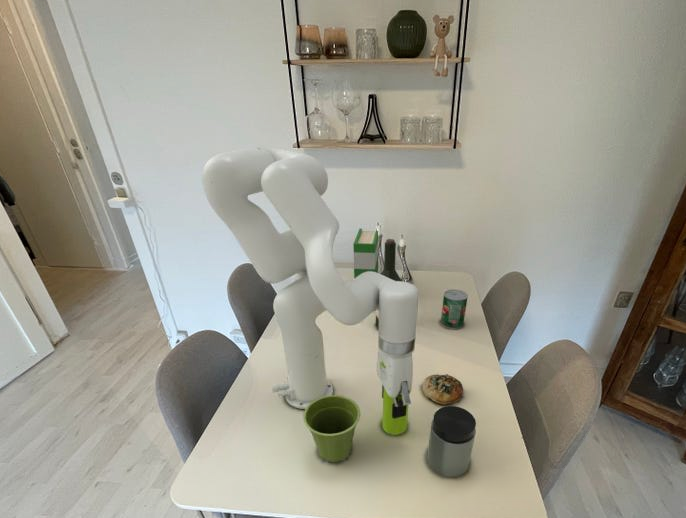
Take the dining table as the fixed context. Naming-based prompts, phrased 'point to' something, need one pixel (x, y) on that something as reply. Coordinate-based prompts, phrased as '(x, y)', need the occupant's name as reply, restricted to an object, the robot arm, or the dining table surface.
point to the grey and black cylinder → (451, 441)
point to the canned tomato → (454, 309)
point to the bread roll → (442, 388)
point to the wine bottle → (389, 266)
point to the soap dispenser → (390, 423)
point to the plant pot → (332, 425)
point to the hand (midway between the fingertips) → (393, 406)
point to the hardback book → (366, 252)
